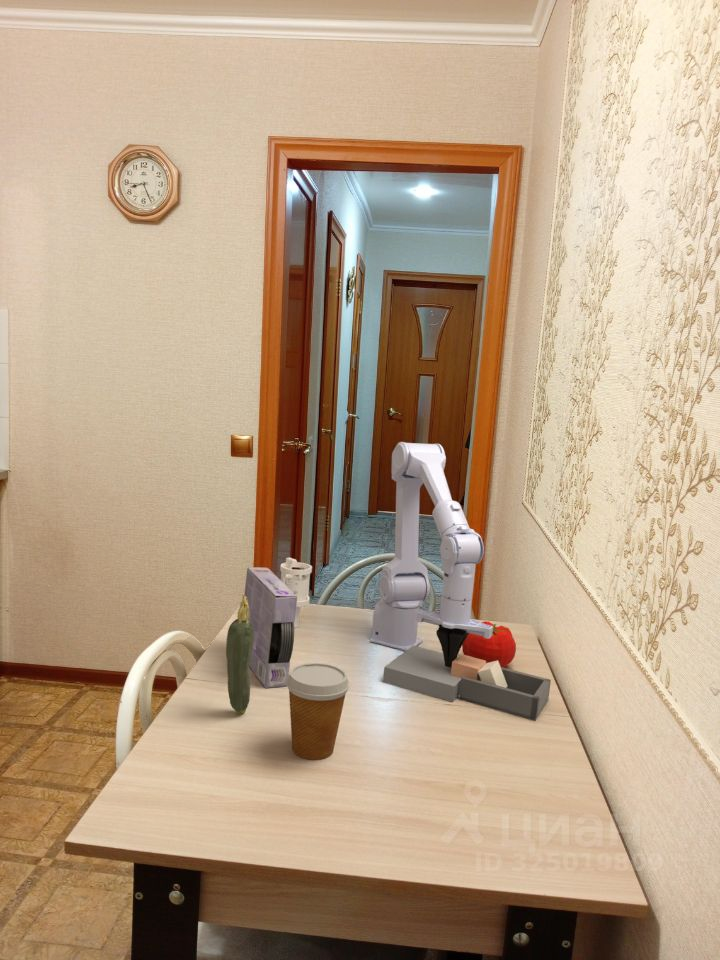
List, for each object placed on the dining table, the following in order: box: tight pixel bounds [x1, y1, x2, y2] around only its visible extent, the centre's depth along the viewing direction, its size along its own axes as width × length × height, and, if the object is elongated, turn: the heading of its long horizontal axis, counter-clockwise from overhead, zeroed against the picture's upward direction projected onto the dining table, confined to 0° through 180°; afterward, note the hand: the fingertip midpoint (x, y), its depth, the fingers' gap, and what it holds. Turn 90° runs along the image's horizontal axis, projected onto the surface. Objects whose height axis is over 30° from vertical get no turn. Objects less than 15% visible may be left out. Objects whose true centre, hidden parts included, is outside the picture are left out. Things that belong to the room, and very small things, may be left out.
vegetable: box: [225, 594, 254, 714], centre depth 116 cm, size 4×4×20 cm
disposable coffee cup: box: [286, 662, 351, 761], centre depth 107 cm, size 10×10×12 cm
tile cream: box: [478, 661, 507, 688], centre depth 132 cm, size 5×5×2 cm
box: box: [458, 667, 552, 722], centre depth 131 cm, size 14×10×4 cm
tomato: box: [461, 621, 517, 668], centre depth 147 cm, size 11×11×9 cm
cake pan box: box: [243, 566, 297, 689], centre depth 135 cm, size 19×5×18 cm, turn 25°
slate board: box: [382, 645, 461, 703], centre depth 138 cm, size 14×14×3 cm
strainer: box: [279, 557, 313, 629], centre depth 160 cm, size 7×7×15 cm
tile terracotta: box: [451, 653, 486, 680], centre depth 134 cm, size 5×5×2 cm
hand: (449, 665), depth 136 cm, fingers closed
